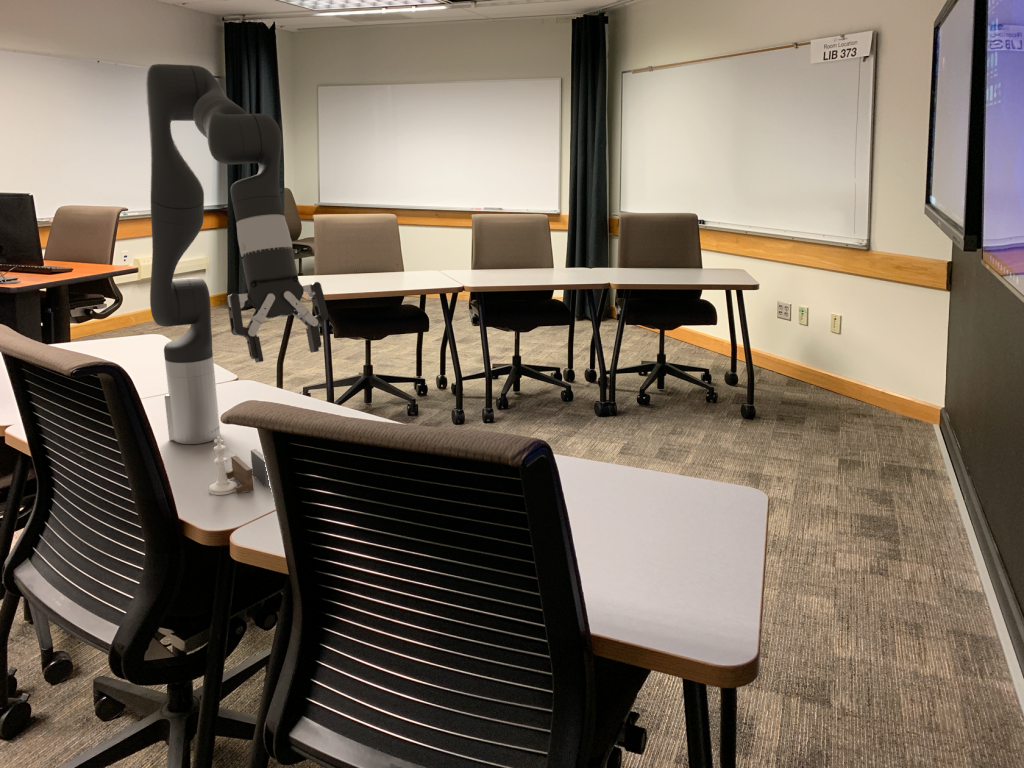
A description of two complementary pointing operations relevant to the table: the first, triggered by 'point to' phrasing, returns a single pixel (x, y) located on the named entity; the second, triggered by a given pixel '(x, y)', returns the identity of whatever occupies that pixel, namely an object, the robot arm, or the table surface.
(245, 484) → the sliding block
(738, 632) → the table surface
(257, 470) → the backstop wall
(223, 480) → the chess piece
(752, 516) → the table surface
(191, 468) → the table surface
